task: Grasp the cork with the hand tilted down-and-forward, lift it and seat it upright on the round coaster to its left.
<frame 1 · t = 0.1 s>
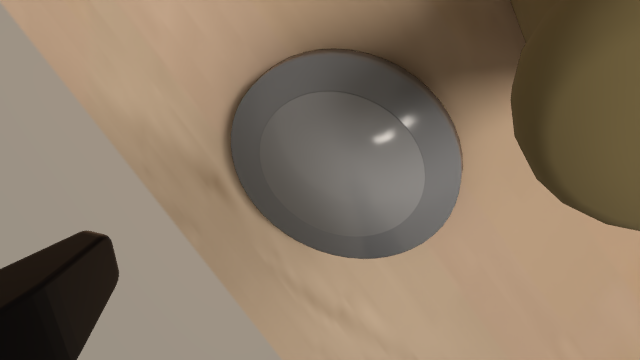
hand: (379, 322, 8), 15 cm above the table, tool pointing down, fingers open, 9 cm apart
coaster: (344, 158, 25), on the table
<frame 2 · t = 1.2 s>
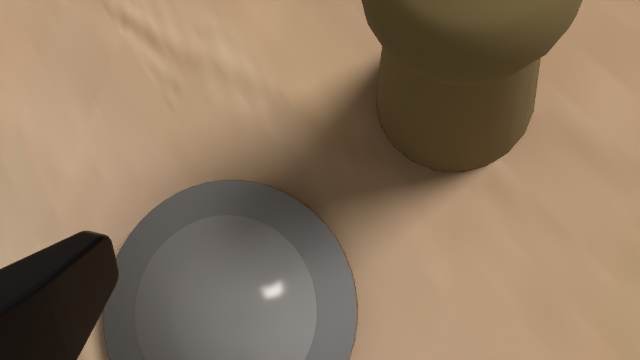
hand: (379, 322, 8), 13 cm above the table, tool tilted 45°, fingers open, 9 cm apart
cork: (453, 97, 23), on the table
coaster: (231, 308, 23), on the table
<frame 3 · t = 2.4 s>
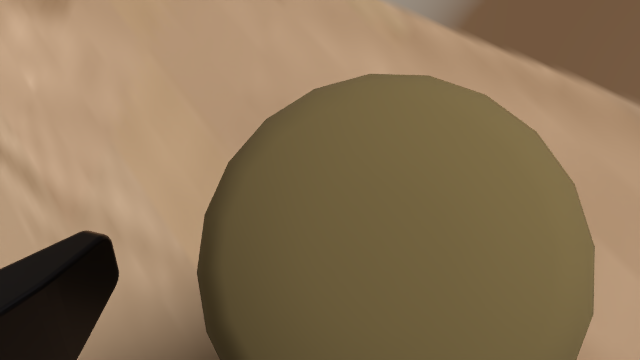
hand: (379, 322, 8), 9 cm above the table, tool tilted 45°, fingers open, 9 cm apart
cork: (409, 277, 17), on the table
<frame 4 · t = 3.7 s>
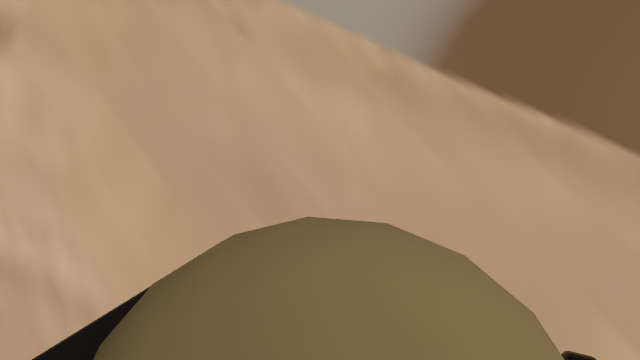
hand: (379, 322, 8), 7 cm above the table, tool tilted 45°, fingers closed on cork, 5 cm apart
cork: (390, 359, 15), on the table, touching gripper
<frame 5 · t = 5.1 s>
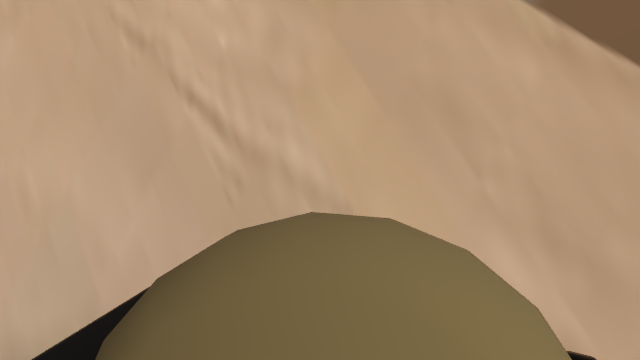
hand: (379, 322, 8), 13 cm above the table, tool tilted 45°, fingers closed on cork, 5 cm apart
cork: (392, 357, 15), point 7 cm above the table, touching gripper
when the fingers open (9 cm above the table, at t = 6.7 s): cork drops 1 cm, resting on coaster.
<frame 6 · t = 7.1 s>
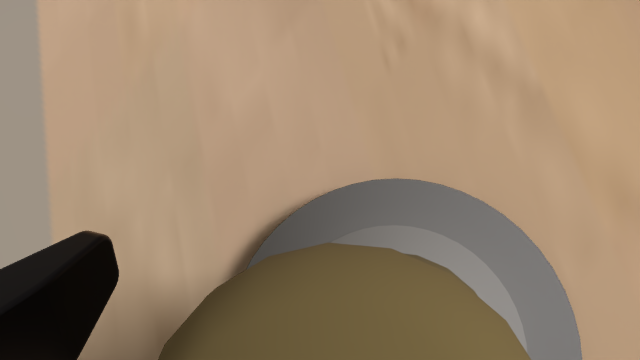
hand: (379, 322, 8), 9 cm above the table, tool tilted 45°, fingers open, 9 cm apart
cork: (392, 359, 16), point 1 cm above the table, touching coaster
coaster: (395, 349, 17), on the table
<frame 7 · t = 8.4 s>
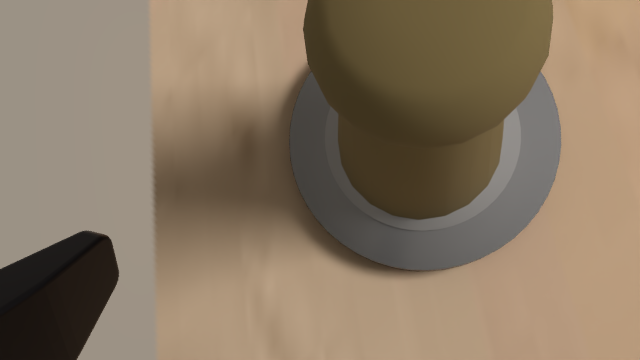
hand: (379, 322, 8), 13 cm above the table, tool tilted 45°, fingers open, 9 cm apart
cork: (418, 140, 22), point 1 cm above the table, touching coaster
coaster: (419, 140, 22), on the table
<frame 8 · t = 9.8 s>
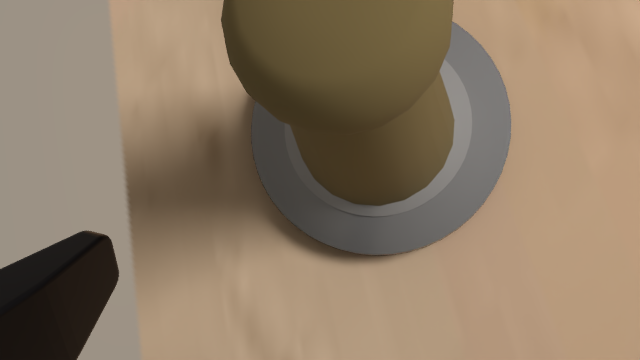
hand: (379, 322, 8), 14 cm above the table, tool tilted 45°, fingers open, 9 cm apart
cork: (374, 129, 22), point 1 cm above the table, touching coaster
coaster: (377, 129, 23), on the table
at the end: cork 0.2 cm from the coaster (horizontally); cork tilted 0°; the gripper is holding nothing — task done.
